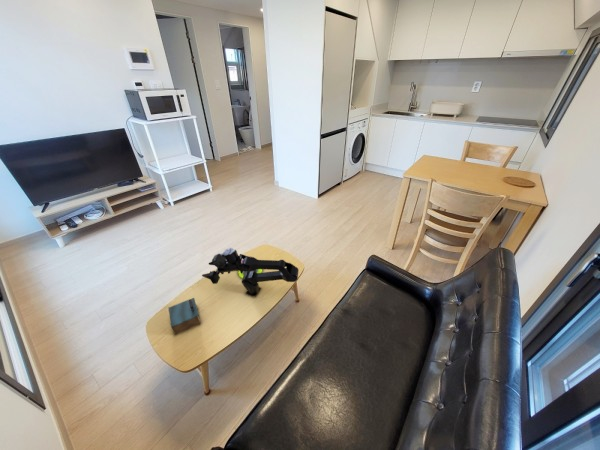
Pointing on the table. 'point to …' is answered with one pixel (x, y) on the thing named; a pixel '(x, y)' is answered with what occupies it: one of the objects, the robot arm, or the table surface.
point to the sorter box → (186, 325)
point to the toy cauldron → (244, 271)
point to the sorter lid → (183, 312)
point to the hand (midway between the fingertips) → (205, 269)
